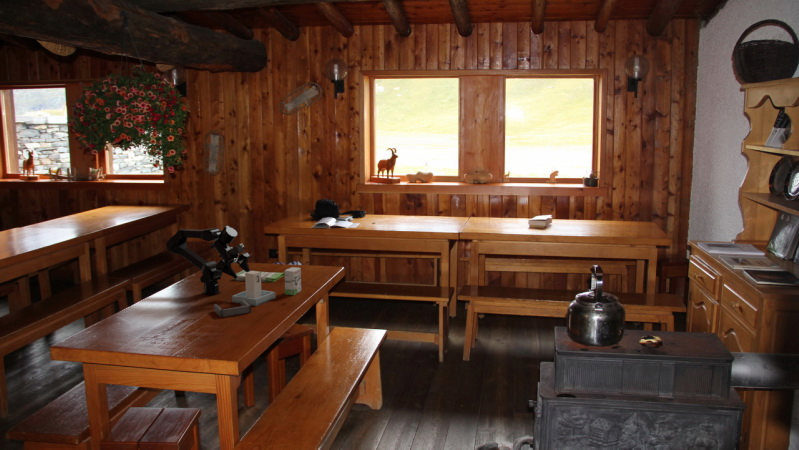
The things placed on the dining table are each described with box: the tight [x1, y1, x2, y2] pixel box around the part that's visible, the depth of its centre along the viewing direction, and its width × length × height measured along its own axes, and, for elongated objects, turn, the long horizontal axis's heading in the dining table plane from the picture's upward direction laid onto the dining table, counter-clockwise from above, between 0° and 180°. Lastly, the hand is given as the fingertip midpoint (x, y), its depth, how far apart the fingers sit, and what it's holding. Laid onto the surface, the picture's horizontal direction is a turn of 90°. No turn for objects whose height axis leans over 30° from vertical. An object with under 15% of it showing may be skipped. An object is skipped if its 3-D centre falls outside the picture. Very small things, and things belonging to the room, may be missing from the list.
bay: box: [213, 300, 252, 318], centre depth 291 cm, size 11×13×3 cm
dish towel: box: [232, 269, 285, 283], centre depth 351 cm, size 17×23×4 cm
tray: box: [231, 289, 276, 307], centre depth 309 cm, size 14×14×3 cm
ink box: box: [284, 266, 302, 296], centre depth 320 cm, size 9×5×12 cm, turn 163°
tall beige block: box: [244, 270, 262, 299], centre depth 308 cm, size 6×5×12 cm
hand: (243, 275), depth 310 cm, fingers open, 9 cm apart
